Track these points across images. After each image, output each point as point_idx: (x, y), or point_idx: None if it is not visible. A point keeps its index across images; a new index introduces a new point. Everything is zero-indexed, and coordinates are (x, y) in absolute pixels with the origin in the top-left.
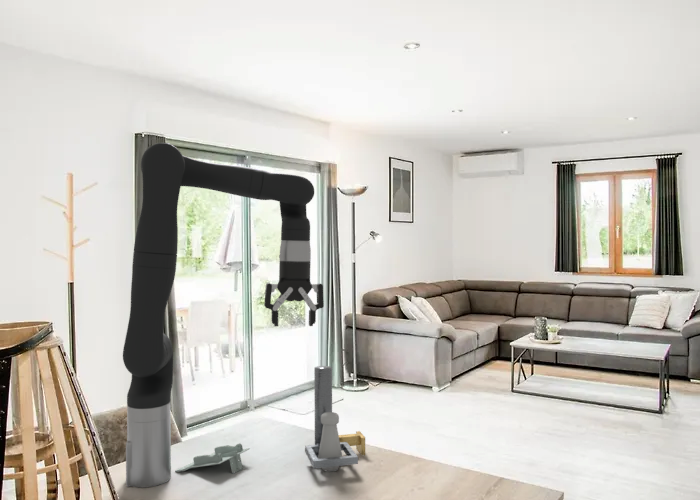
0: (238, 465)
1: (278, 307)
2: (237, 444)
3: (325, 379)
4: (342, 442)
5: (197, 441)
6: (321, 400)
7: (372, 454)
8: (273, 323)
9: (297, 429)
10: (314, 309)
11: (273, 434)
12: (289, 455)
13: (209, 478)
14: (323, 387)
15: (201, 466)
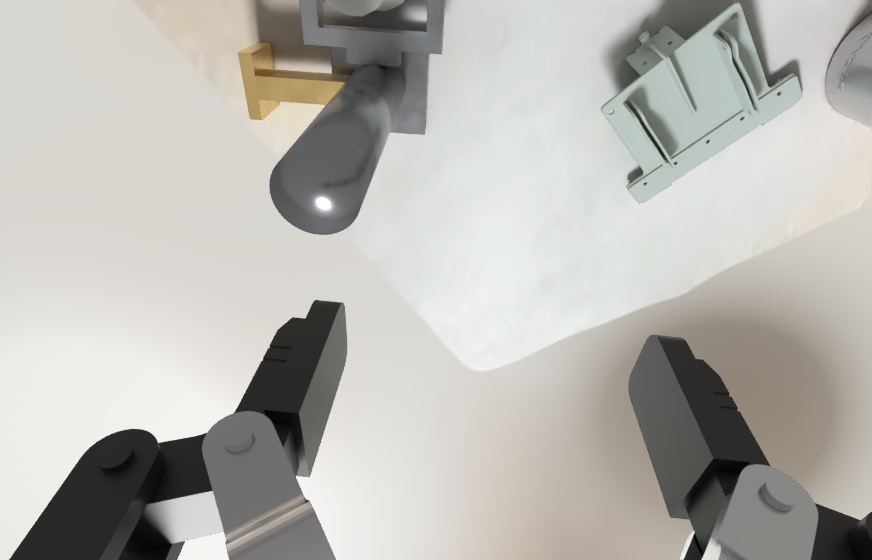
0: (648, 44)
1: (739, 502)
2: (643, 115)
3: (322, 132)
4: (318, 43)
5: (659, 281)
6: (360, 107)
7: (236, 39)
8: (699, 362)
9: (409, 284)
10: (238, 424)
11: (474, 271)
12: (473, 114)
13: None
14: (340, 121)
15: (756, 57)
